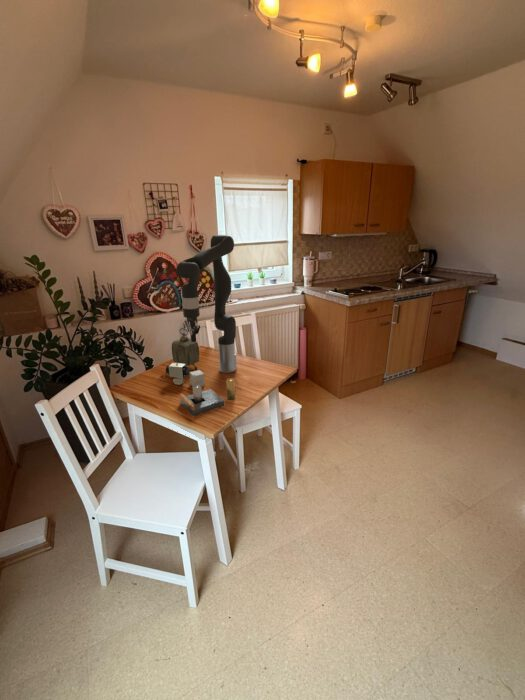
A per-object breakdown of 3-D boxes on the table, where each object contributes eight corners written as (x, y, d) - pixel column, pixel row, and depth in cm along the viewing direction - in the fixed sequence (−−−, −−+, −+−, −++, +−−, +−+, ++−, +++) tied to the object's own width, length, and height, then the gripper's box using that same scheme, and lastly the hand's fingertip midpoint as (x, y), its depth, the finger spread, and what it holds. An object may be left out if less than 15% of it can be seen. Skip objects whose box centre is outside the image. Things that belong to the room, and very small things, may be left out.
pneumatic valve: (187, 386, 170) (185, 365, 166) (167, 384, 172) (164, 363, 168) (191, 381, 175) (189, 361, 171) (171, 380, 178) (169, 359, 173)
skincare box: (200, 381, 176) (199, 369, 173) (205, 386, 171) (204, 373, 168) (190, 384, 173) (189, 372, 170) (194, 388, 168) (193, 376, 165)
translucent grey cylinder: (200, 402, 154) (198, 384, 151) (204, 406, 151) (202, 387, 148) (192, 405, 152) (191, 386, 149) (196, 408, 149) (194, 389, 146)
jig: (210, 394, 162) (210, 385, 161) (224, 405, 152) (224, 396, 150) (180, 403, 154) (179, 394, 152) (193, 416, 143) (192, 406, 141)
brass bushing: (232, 395, 161) (231, 377, 157) (236, 398, 158) (236, 380, 154) (225, 398, 158) (224, 379, 155) (229, 401, 156) (228, 382, 152)
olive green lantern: (200, 369, 192) (197, 328, 183) (189, 374, 185) (185, 332, 176) (184, 363, 199) (180, 324, 191) (172, 368, 193) (168, 328, 184)
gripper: (204, 308, 147) (206, 343, 153) (192, 303, 157) (194, 336, 163) (189, 310, 143) (192, 346, 149) (177, 304, 153) (180, 339, 159)
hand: (193, 341), depth 156 cm, fingers closed
